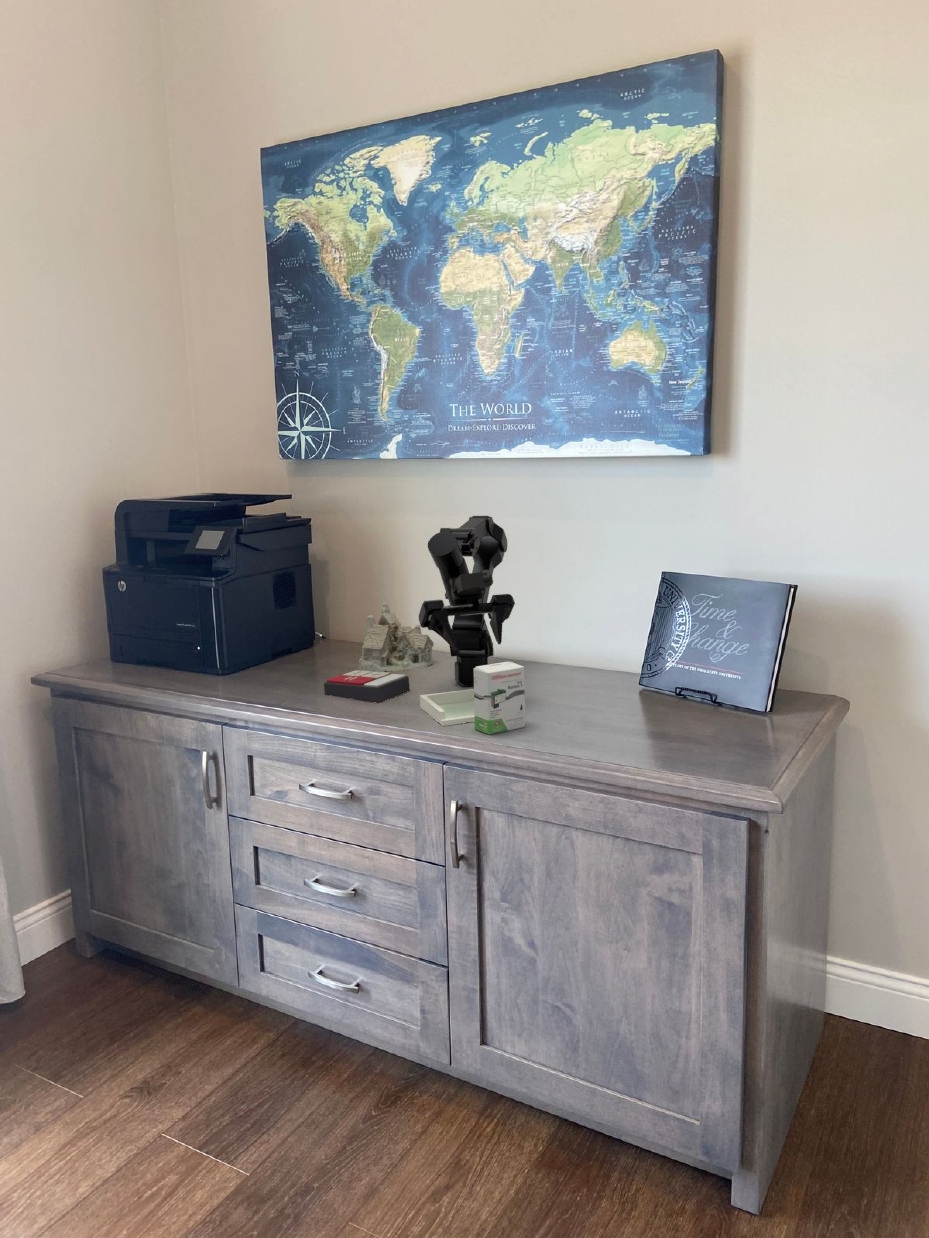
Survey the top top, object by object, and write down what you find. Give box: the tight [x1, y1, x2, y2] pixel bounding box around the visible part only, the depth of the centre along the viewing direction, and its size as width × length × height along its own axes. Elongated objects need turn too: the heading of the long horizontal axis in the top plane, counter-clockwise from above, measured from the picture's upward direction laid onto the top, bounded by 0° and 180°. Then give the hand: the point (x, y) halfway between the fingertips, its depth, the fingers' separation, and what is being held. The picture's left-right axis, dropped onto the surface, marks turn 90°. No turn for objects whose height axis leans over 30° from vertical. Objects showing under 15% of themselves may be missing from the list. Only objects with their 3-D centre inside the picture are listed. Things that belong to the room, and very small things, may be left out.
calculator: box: [323, 669, 411, 704], centre depth 200 cm, size 11×4×15 cm
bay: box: [419, 688, 475, 727], centre depth 184 cm, size 13×14×2 cm
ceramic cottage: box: [357, 602, 435, 672], centre depth 223 cm, size 16×16×15 cm
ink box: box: [473, 661, 526, 735], centre depth 172 cm, size 9×5×12 cm, turn 123°
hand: (478, 645), depth 180 cm, fingers open, 9 cm apart
